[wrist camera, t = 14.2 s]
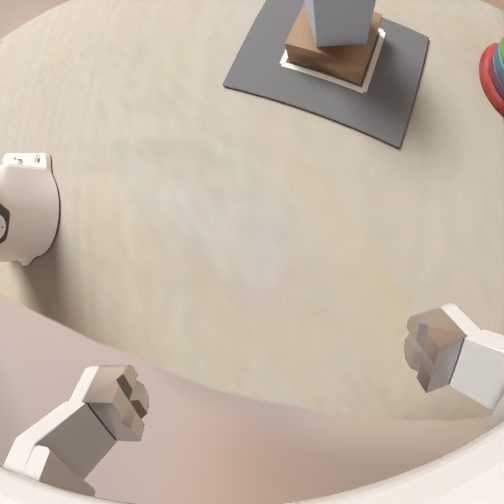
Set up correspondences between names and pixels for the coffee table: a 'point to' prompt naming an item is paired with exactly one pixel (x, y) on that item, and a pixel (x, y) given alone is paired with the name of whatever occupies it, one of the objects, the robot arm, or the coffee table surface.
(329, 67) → the base block
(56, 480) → the robot arm
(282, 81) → the build mat
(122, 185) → the coffee table surface
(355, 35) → the pillar
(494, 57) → the stacking bear
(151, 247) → the coffee table surface
